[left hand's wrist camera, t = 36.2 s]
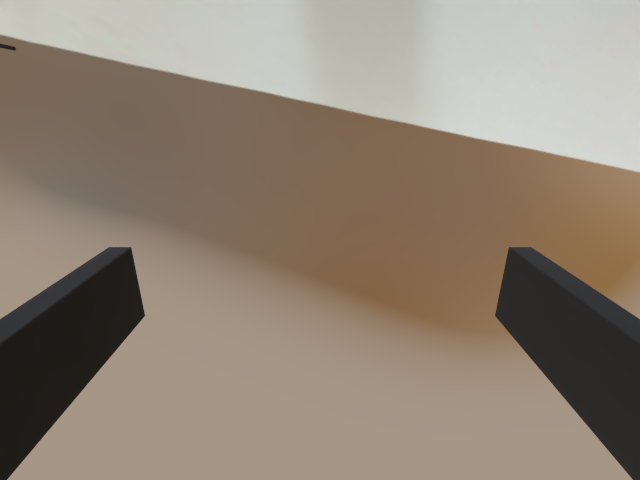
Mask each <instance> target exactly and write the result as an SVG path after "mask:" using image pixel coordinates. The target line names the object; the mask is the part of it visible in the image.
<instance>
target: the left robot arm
mask: <svg viewBox="0 0 640 480" xmlns="http://www.w3.org/2000/svg"><path fill="white" fill-rule="evenodd" d="M0 48H4V49H9V50H14V51H15V50H16V48H15V47H14V46H9V45H4V44H0ZM144 316H145V314H144V309H143V304H142V299H141V294H140V289H139V284H138V279H137V275H136V270H135V265H134V260H133V255H132V250H131V247H109V248H107V249H106V250H104V251H103V252H101V253H100V254H98V255H97V256H95V257H94V258H92V259H91V260H89V261H88V262H86V263H85V264H83V265H82V266H80V267H79V268H77V269H76V270H74V271H73V272H71V273H70V274H68V275H67V276H65V277H63V278H62V279H60V280H59V281H57V282H56V283H55V284H53V285H51V286H50V287H48V288H47V289H45V290H44V291H42V292H41V293H39V294H38V295H36V296H35V297H33V298H32V299H30V300H29V301H27V302H26V303H24V304H23V305H21V306H20V307H18V308H17V309H15V310H14V311H12V312H11V313H9V314H8V315H6V316H5V317H3V318H2V319H0V480H7V479H8V478H9V477H10V475H11V474H12V473H13V472H14V471H15V469H16V468H17V467H18V466H19V465H20V464H21V462H22V461H23V460H24V459H25V457H26V456H27V455H28V454H29V453H30V452H31V450H32V449H33V448H34V447H35V446H36V444H37V443H38V442H39V441H40V440H41V439H42V437H43V436H44V435H45V434H46V433H47V431H48V430H49V429H50V428H51V427H52V425H53V424H54V423H55V422H56V421H57V420H58V418H59V417H60V416H61V415H62V414H63V412H64V411H65V410H66V409H67V408H68V406H69V405H70V404H71V403H72V402H73V400H74V399H75V398H76V397H77V396H78V395H79V393H80V392H81V391H82V390H83V389H84V387H85V386H86V385H87V384H88V383H89V382H90V380H91V379H92V378H93V377H94V376H95V374H96V373H97V372H98V371H99V370H100V368H101V367H102V366H103V365H104V364H105V362H106V361H107V360H108V359H109V358H110V357H111V355H112V354H113V353H114V352H115V351H116V349H117V348H118V347H119V346H120V345H121V343H122V342H123V341H124V340H125V339H126V338H127V336H128V335H129V334H130V333H131V332H132V330H133V329H134V328H135V327H136V326H137V324H138V323H139V322H140V321H141V320H142V319H143V317H144ZM495 316H496V317H497V319H498V320H499V321H500V322H501V323H502V324H503V326H504V327H505V328H506V329H507V330H508V332H509V333H510V334H511V335H512V336H513V337H514V339H515V340H516V341H517V342H518V343H519V345H520V346H521V347H522V348H523V349H524V351H525V352H526V353H527V354H528V355H529V357H530V358H531V359H532V360H533V361H534V362H535V364H536V365H537V366H538V367H539V368H540V370H541V371H542V372H543V373H544V374H545V376H546V377H547V378H548V379H549V380H550V382H551V383H552V384H553V385H554V386H555V387H556V389H557V390H558V391H559V392H560V393H561V395H562V396H563V397H564V398H565V399H566V401H567V402H568V403H569V404H570V405H571V406H572V408H573V409H574V410H575V411H576V412H577V414H578V415H579V416H580V417H581V418H582V420H583V421H584V422H585V423H586V424H587V425H588V427H589V428H590V429H591V430H592V431H593V433H594V434H595V435H596V436H597V437H598V438H599V440H600V441H601V442H602V443H603V444H604V446H605V447H606V448H607V449H608V450H609V452H610V453H611V454H612V455H613V456H614V458H615V459H616V460H617V461H618V462H619V463H620V465H621V466H622V467H623V468H624V469H625V471H626V472H627V473H628V474H629V475H630V476H631V478H632V479H633V480H640V319H638V318H637V317H635V316H634V315H632V314H631V313H629V312H628V311H626V310H625V309H623V308H622V307H620V306H619V305H617V304H616V303H614V302H613V301H611V300H610V299H608V298H607V297H605V296H604V295H602V294H601V293H599V292H598V291H596V290H595V289H593V288H592V287H590V286H589V285H587V284H586V283H584V282H583V281H581V280H579V279H578V278H577V277H575V276H573V275H572V274H570V273H569V272H567V271H566V270H564V269H563V268H561V267H560V266H558V265H557V264H555V263H554V262H552V261H551V260H549V259H548V258H546V257H545V256H543V255H542V254H540V253H539V252H537V251H536V250H534V249H533V248H531V247H509V250H508V255H507V260H506V265H505V270H504V274H503V279H502V284H501V289H500V294H499V299H498V304H497V309H496V314H495Z"/></svg>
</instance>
